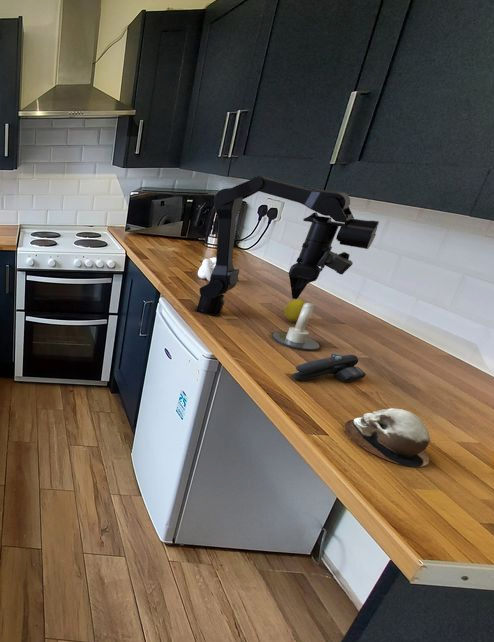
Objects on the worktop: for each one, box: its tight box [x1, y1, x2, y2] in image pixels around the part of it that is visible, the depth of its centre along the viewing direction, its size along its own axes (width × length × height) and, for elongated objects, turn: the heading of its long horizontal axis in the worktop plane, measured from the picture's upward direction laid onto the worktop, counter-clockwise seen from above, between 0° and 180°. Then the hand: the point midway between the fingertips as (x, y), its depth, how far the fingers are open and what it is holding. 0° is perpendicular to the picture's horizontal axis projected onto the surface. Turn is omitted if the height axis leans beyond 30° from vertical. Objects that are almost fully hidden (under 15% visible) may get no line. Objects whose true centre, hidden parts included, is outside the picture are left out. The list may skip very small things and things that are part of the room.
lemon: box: [284, 298, 306, 323], centre depth 127 cm, size 6×6×8 cm
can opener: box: [291, 352, 367, 383], centre depth 96 cm, size 18×7×6 cm, turn 100°
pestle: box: [286, 301, 315, 343], centre depth 112 cm, size 5×5×12 cm
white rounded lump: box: [197, 256, 216, 282], centre depth 164 cm, size 11×12×9 cm
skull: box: [344, 407, 431, 468], centre depth 75 cm, size 12×10×10 cm
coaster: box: [271, 331, 320, 352], centre depth 115 cm, size 11×11×1 cm
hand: (297, 294), depth 114 cm, fingers open, 9 cm apart
